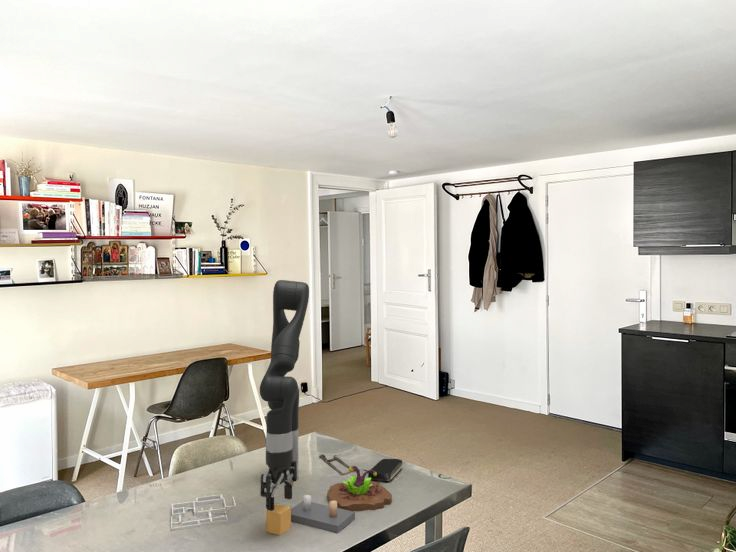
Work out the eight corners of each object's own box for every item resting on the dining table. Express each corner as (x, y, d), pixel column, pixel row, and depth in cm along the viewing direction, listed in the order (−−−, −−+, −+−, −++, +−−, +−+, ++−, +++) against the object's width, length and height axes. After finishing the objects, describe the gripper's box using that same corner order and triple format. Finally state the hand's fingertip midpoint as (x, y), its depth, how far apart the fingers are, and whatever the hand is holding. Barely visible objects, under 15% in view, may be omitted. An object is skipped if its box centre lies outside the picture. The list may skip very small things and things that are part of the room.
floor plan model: (230, 490, 189) (230, 484, 189) (238, 522, 165) (238, 516, 165) (171, 497, 183) (171, 491, 183) (171, 532, 159) (171, 525, 159)
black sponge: (389, 484, 193) (389, 474, 193) (366, 481, 196) (366, 470, 196) (403, 469, 208) (404, 459, 208) (382, 465, 211) (382, 456, 211)
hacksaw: (318, 457, 220) (318, 454, 220) (342, 453, 225) (342, 450, 225) (344, 478, 198) (344, 474, 198) (370, 474, 203) (370, 469, 203)
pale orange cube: (266, 531, 159) (265, 510, 159) (276, 524, 163) (276, 503, 163) (280, 535, 157) (280, 514, 156) (290, 527, 161) (290, 507, 161)
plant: (319, 492, 187) (319, 458, 187) (373, 483, 194) (373, 451, 194) (339, 517, 168) (339, 480, 168) (398, 507, 176) (398, 471, 176)
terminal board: (285, 519, 166) (285, 499, 166) (303, 506, 175) (303, 487, 175) (338, 533, 158) (338, 511, 158) (354, 518, 167) (355, 498, 167)
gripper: (282, 438, 167) (283, 493, 168) (252, 452, 155) (252, 511, 155) (304, 442, 164) (304, 497, 164) (275, 456, 151) (275, 516, 152)
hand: (279, 504), depth 160 cm, fingers open, 8 cm apart
